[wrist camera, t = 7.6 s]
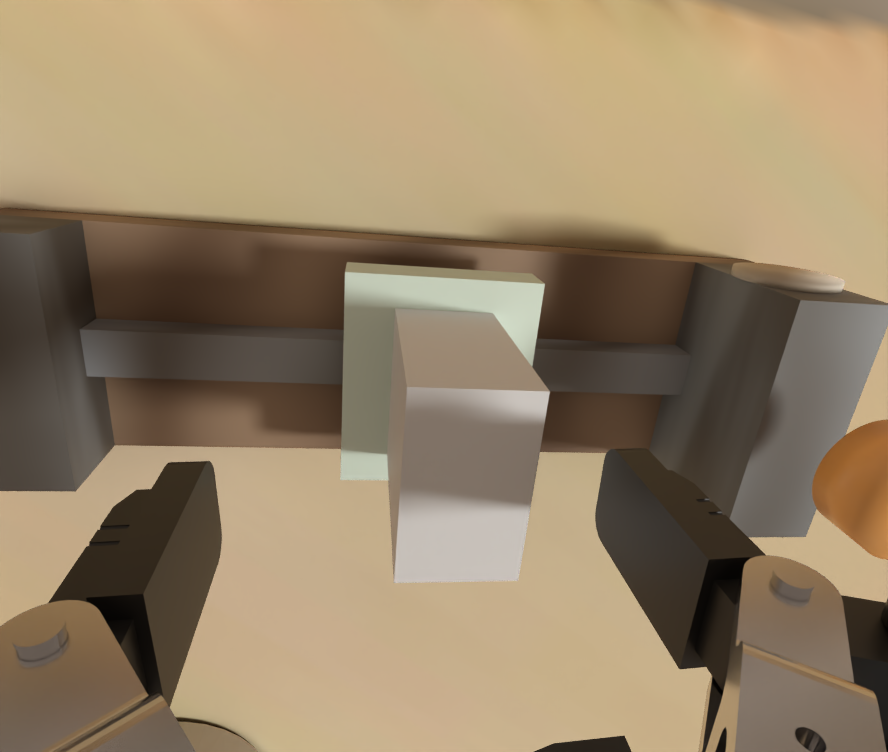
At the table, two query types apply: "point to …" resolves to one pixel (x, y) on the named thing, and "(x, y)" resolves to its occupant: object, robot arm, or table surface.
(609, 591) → the table surface
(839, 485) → the gauge button
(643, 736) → the table surface
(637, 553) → the robot arm
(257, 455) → the table surface
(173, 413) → the rail
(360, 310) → the carriage
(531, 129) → the table surface
